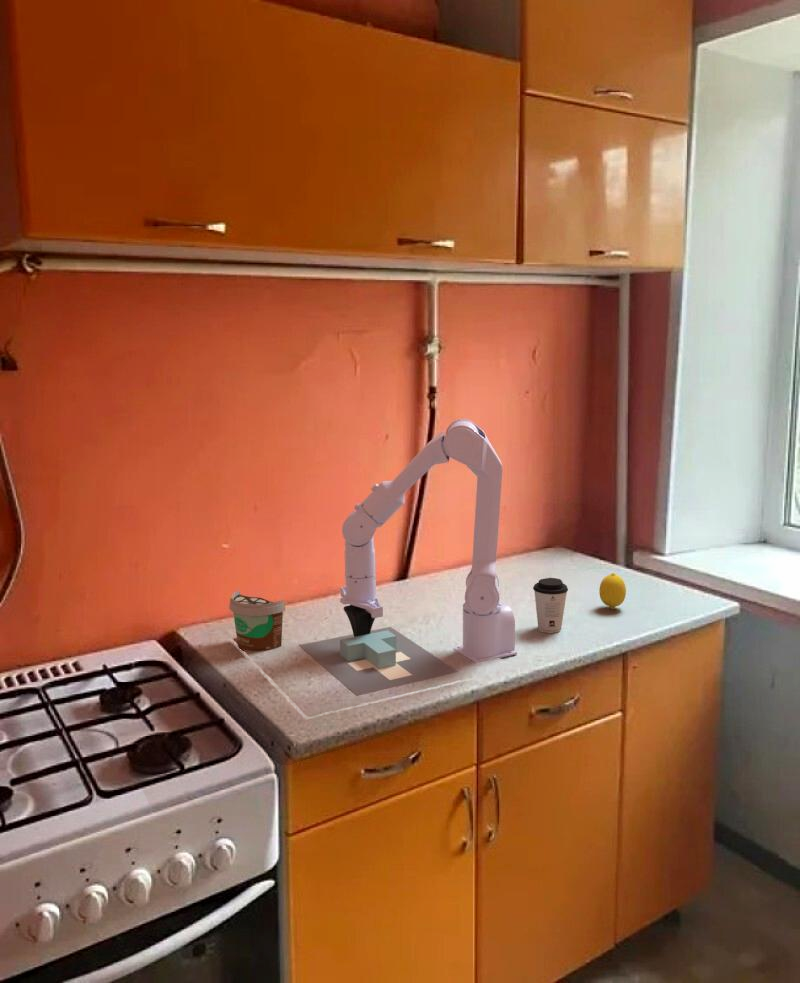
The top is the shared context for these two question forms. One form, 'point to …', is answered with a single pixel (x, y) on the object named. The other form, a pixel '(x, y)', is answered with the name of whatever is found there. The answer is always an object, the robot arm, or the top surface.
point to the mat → (367, 677)
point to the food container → (257, 622)
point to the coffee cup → (550, 604)
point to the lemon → (612, 590)
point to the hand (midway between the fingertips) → (361, 642)
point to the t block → (371, 648)
